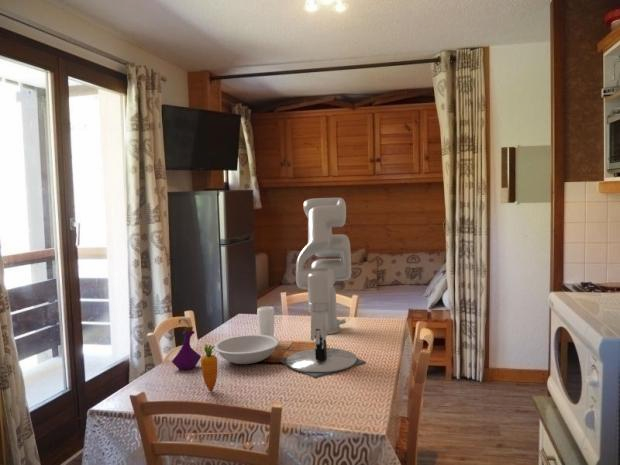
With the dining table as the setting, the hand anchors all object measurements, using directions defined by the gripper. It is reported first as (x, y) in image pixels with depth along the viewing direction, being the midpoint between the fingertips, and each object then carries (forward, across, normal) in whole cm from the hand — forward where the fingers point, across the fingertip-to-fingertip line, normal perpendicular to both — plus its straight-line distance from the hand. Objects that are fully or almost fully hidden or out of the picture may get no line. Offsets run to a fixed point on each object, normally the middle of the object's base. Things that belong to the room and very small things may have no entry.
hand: (321, 357), depth 181 cm
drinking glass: (+2, -21, -26) cm, 33 cm away
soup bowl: (+2, -1, -28) cm, 28 cm away
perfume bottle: (+2, +8, -47) cm, 48 cm away
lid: (+1, 0, 0) cm, 1 cm away
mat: (+2, 0, 0) cm, 2 cm away
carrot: (+2, +29, -30) cm, 42 cm away
